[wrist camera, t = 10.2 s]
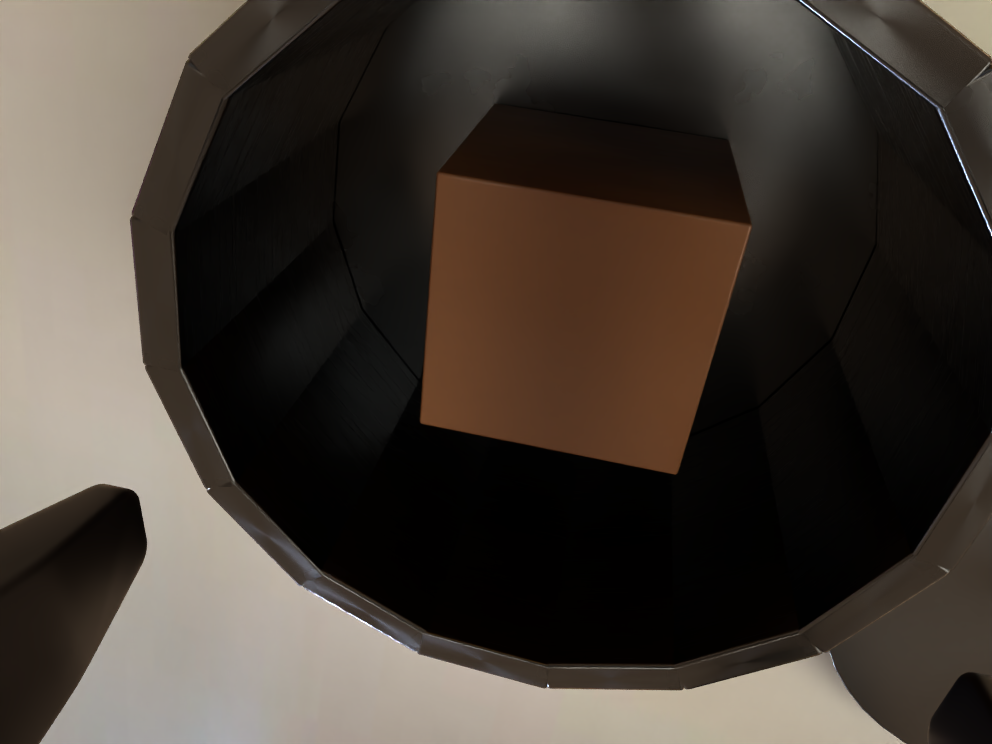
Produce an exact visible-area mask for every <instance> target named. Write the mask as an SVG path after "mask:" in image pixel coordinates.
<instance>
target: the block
mask: <svg viewBox="0 0 992 744" xmlns="http://www.w3.org/2000/svg"><path fill="white" fill-rule="evenodd" d="M751 230H752V223H751V219H750V216H749V212H748V208H747V205H746V201H745V197H744V193H743V190H742V186H741V182H740V179H739V175H738V171H737V167H736V164H735V160H734V156H733V152H732V149H731V145H730V141H728V140H723V139H717V138H711V137H704V136H698V135H692V134H685V133H679V132H673V131H666V130H660V129H654V128H647V127H641V126H635V125H628V124H622V123H616V122H609V121H603V120H596V119H590V118H584V117H577V116H571V115H565V114H558V113H552V112H546V111H539V110H533V109H527V108H520V107H514V106H508V105H501V104H494V105H493V106H492V107H491V109H490V110H489V111H488V112H487V113H486V114H485V116H484V117H483V118H482V119H481V120H480V122H479V123H478V124H477V125H476V126H475V128H474V129H473V130H472V131H471V132H470V134H469V135H468V136H467V137H466V138H465V140H464V141H463V142H462V143H461V144H460V146H459V147H458V148H457V149H456V150H455V152H454V153H453V154H452V155H451V156H450V158H449V159H448V160H447V161H446V162H445V164H444V165H443V166H442V167H441V168H440V170H439V171H438V172H437V174H436V188H435V202H434V217H433V231H432V246H431V261H430V275H429V290H428V304H427V319H426V333H425V348H424V362H423V377H422V392H421V406H420V423H421V424H425V425H430V426H435V427H440V428H445V429H450V430H455V431H460V432H465V433H470V434H475V435H480V436H485V437H490V438H495V439H500V440H505V441H510V442H515V443H520V444H525V445H530V446H535V447H539V448H544V449H549V450H554V451H559V452H564V453H569V454H574V455H579V456H584V457H589V458H594V459H599V460H604V461H609V462H614V463H619V464H624V465H629V466H634V467H639V468H644V469H649V470H654V471H659V472H664V473H669V474H674V475H676V474H677V473H678V471H679V468H680V464H681V461H682V458H683V454H684V451H685V448H686V445H687V441H688V438H689V435H690V431H691V428H692V425H693V421H694V418H695V415H696V411H697V408H698V405H699V402H700V398H701V395H702V392H703V388H704V385H705V382H706V378H707V375H708V372H709V369H710V365H711V362H712V359H713V355H714V352H715V349H716V345H717V342H718V339H719V335H720V332H721V329H722V326H723V322H724V319H725V316H726V312H727V309H728V306H729V302H730V299H731V296H732V292H733V289H734V286H735V283H736V279H737V276H738V273H739V269H740V266H741V263H742V259H743V256H744V253H745V250H746V246H747V243H748V240H749V236H750V233H751Z"/></svg>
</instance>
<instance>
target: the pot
mask: <svg viewBox="0 0 992 744" xmlns="http://www.w3.org/2000/svg"><path fill="white" fill-rule="evenodd" d="M188 58H189V60H187V61H186V63H185V66H184V69H183V72H182V75H181V77H180V80H179V83H178V86H177V88H176V91H175V94H174V97H173V100H172V102H171V105H170V108H169V111H168V113H167V116H166V119H165V122H164V124H163V127H162V130H161V133H160V136H159V138H158V141H157V144H156V147H155V149H154V152H153V155H152V158H151V161H150V163H149V166H148V169H147V172H146V174H145V177H144V180H143V183H142V185H141V188H140V191H139V194H138V197H137V199H136V202H135V205H134V208H133V210H132V217H131V219H130V225H131V236H132V247H133V258H134V268H135V279H136V290H137V301H138V312H139V323H140V334H141V344H142V355H143V363H144V364H145V365H146V366H145V369H146V371H147V373H148V375H149V377H150V379H151V381H152V383H153V385H154V387H155V389H156V391H157V393H158V395H159V397H160V399H161V401H162V403H163V405H164V407H165V409H166V411H167V413H168V415H169V417H170V419H171V421H172V423H173V425H174V427H175V429H176V431H177V433H178V435H179V437H180V439H181V441H182V443H183V445H184V447H185V449H186V451H187V453H188V455H189V457H190V459H191V461H192V463H193V465H194V467H195V469H196V471H197V473H198V475H199V477H200V479H201V481H202V483H203V485H204V487H205V488H206V489H208V490H207V492H208V494H209V495H210V496H211V497H212V498H213V499H214V500H215V501H216V502H217V503H218V504H219V505H220V506H221V507H222V508H223V509H224V510H225V511H226V512H227V513H228V514H229V515H230V516H231V517H232V518H233V519H234V520H235V521H236V522H237V523H238V524H239V525H240V526H241V527H242V528H243V529H244V530H245V531H246V532H247V533H248V534H249V535H250V536H251V537H252V538H253V539H254V540H255V541H256V542H257V543H258V544H259V545H260V546H261V547H262V548H263V549H264V550H265V551H266V552H267V554H268V555H269V556H270V557H271V558H272V559H273V560H274V561H275V562H276V563H277V564H278V565H279V566H280V567H281V568H282V569H283V570H284V571H285V572H286V573H287V574H288V575H289V576H290V577H291V578H292V579H293V580H294V581H295V582H296V583H297V584H298V585H299V586H303V587H304V588H305V589H306V590H308V591H310V592H311V593H313V594H315V595H317V596H318V597H320V598H322V599H324V600H325V601H327V602H329V603H331V604H332V605H334V606H336V607H338V608H339V609H341V610H343V611H345V612H346V613H348V614H350V615H352V616H353V617H355V618H357V619H359V620H360V621H362V622H364V623H366V624H367V625H369V626H371V627H372V628H374V629H376V630H378V631H379V632H381V633H383V634H385V635H386V636H388V637H390V638H392V639H393V640H395V641H397V642H399V643H400V644H402V645H404V646H406V647H407V648H409V649H411V650H413V651H417V653H418V654H420V655H424V656H427V657H431V658H435V659H438V660H442V661H446V662H449V663H453V664H457V665H460V666H464V667H468V668H471V669H475V670H479V671H482V672H486V673H490V674H493V675H497V676H501V677H504V678H508V679H511V680H515V681H519V682H522V683H526V684H530V685H533V686H537V687H541V688H546V687H548V688H552V689H622V690H683V688H685V689H692V688H696V687H700V686H703V685H707V684H711V683H715V682H719V681H722V680H726V679H730V678H734V677H737V676H741V675H745V674H749V673H753V672H756V671H760V670H764V669H768V668H772V667H775V666H779V665H783V664H787V663H791V662H794V661H798V660H802V659H806V658H809V657H813V656H817V655H820V654H821V653H822V652H824V653H826V652H828V651H830V650H831V649H833V648H834V647H836V646H838V645H839V644H841V643H842V642H844V641H845V640H847V639H848V638H850V637H852V636H853V635H855V634H856V633H858V632H859V631H861V630H862V629H864V628H865V627H867V626H869V625H870V624H872V623H873V622H875V621H876V620H878V619H879V618H881V617H882V616H884V615H886V614H887V613H889V612H890V611H892V610H893V609H895V608H896V607H898V606H900V605H901V604H903V603H904V602H906V601H907V600H909V599H910V598H912V597H913V596H915V595H917V594H918V593H920V592H921V591H923V590H924V589H926V588H927V587H929V586H931V585H932V584H934V583H935V582H937V581H938V580H940V579H941V578H943V577H944V576H946V575H948V574H949V573H950V570H953V569H954V568H955V567H956V565H957V564H958V563H959V561H960V560H961V558H962V557H963V555H964V554H965V553H966V551H967V550H968V548H969V547H970V546H971V544H972V543H973V541H974V540H975V538H976V537H977V536H978V534H979V533H980V531H981V530H982V528H983V527H984V526H985V524H986V523H987V521H988V520H989V519H990V517H991V516H992V58H991V57H990V56H989V55H988V54H987V53H985V52H984V51H983V50H982V49H980V48H979V47H978V46H977V45H975V44H974V43H973V42H972V41H971V40H969V39H968V38H967V37H966V36H964V35H963V34H962V33H961V32H959V31H958V30H957V29H956V28H954V27H953V26H952V25H951V24H949V23H948V22H947V21H946V20H945V19H943V18H942V17H941V16H940V15H938V14H937V13H936V12H935V11H933V10H932V9H931V8H930V7H928V6H927V5H926V4H925V3H923V2H922V1H921V0H247V1H246V2H245V3H244V4H243V5H242V6H241V7H240V8H239V9H238V10H236V11H235V12H234V13H233V14H232V15H231V16H230V17H229V18H228V19H227V20H226V21H225V22H224V23H222V24H221V25H220V26H219V27H218V28H217V29H216V30H215V31H214V32H213V33H212V34H211V35H209V36H208V37H207V38H206V39H205V40H204V41H203V42H202V43H201V44H200V45H199V46H198V47H197V48H195V49H194V50H193V51H192V52H191V53H190V55H189V57H188ZM494 104H501V105H508V106H514V107H520V108H527V109H533V110H539V111H546V112H552V113H558V114H565V115H571V116H577V117H584V118H590V119H596V120H603V121H609V122H616V123H622V124H628V125H635V126H641V127H647V128H654V129H660V130H666V131H673V132H679V133H685V134H692V135H698V136H704V137H711V138H717V139H723V140H728V141H730V145H731V149H732V152H733V156H734V160H735V164H736V167H737V171H738V175H739V179H740V182H741V186H742V190H743V193H744V197H745V201H746V205H747V208H748V212H749V216H750V219H751V223H752V230H751V233H750V236H749V240H748V243H747V246H746V250H745V253H744V256H743V259H742V263H741V266H740V269H739V273H738V276H737V279H736V283H735V286H734V289H733V292H732V296H731V299H730V302H729V306H728V309H727V312H726V316H725V319H724V322H723V326H722V329H721V332H720V335H719V339H718V342H717V345H716V349H715V352H714V355H713V359H712V362H711V365H710V369H709V372H708V375H707V378H706V382H705V385H704V388H703V392H702V395H701V398H700V402H699V405H698V408H697V411H696V415H695V418H694V421H693V425H692V428H691V431H690V435H689V438H688V441H687V445H686V448H685V451H684V454H683V458H682V461H681V464H680V468H679V471H678V473H677V474H676V475H674V474H669V473H664V472H659V471H654V470H649V469H644V468H639V467H634V466H629V465H624V464H619V463H614V462H609V461H604V460H599V459H594V458H589V457H584V456H579V455H574V454H569V453H564V452H559V451H554V450H549V449H544V448H539V447H535V446H530V445H525V444H520V443H515V442H510V441H505V440H500V439H495V438H490V437H485V436H480V435H475V434H470V433H465V432H460V431H455V430H450V429H445V428H440V427H435V426H430V425H425V424H421V423H420V406H421V392H422V377H423V362H424V348H425V333H426V319H427V304H428V290H429V275H430V261H431V246H432V231H433V217H434V202H435V188H436V174H437V172H438V171H439V170H440V168H441V167H442V166H443V165H444V164H445V162H446V161H447V160H448V159H449V158H450V156H451V155H452V154H453V153H454V152H455V150H456V149H457V148H458V147H459V146H460V144H461V143H462V142H463V141H464V140H465V138H466V137H467V136H468V135H469V134H470V132H471V131H472V130H473V129H474V128H475V126H476V125H477V124H478V123H479V122H480V120H481V119H482V118H483V117H484V116H485V114H486V113H487V112H488V111H489V110H490V109H491V107H492V106H493V105H494Z"/></svg>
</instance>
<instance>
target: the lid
mask: <svg viewBox="0 0 992 744" xmlns="http://www.w3.org/2000/svg"><path fill="white" fill-rule="evenodd" d="M829 652H830V655H831V658H832V661H833V664H834V667H835V669H836V671H837V673H838V675H839V676H840V678H841V680H842V682H843V684H844V686H845V687H846V689H847V690H848V691H849V693H850V694H851V695H852V696H853V698H854V699H855V700H856V701H857V703H858V704H859V705H860V706H861V708H862V709H863V710H864V711H865V712H866V713H867V714H869V715H870V716H871V717H872V718H873V719H874V720H875V721H876V722H877V723H878V724H879V725H880V726H882V727H883V728H884V729H886V730H887V731H889V732H890V733H891V734H893V735H894V736H896V737H897V738H899V739H900V740H901V741H903V742H904V743H906V744H928V727H929V723H930V720H931V718H932V716H933V714H934V713H935V711H936V710H937V708H938V707H939V705H940V704H941V702H942V701H943V699H944V698H945V697H946V695H947V694H948V692H949V691H950V689H951V688H952V686H953V685H954V683H955V682H956V680H957V679H958V678H959V677H960V676H961V675H962V674H964V673H967V672H975V673H979V674H984V675H989V676H992V516H991V517H990V519H989V520H988V521H987V523H986V524H985V526H984V527H983V528H982V530H981V531H980V533H979V534H978V536H977V537H976V538H975V540H974V541H973V543H972V544H971V546H970V547H969V548H968V550H967V551H966V553H965V554H964V555H963V557H962V558H961V560H960V561H959V563H958V564H957V565H956V567H955V568H954V569H953V570H950V573H949V574H948V575H946V576H944V577H943V578H941V579H940V580H938V581H937V582H935V583H934V584H932V585H931V586H929V587H927V588H926V589H924V590H923V591H921V592H920V593H918V594H917V595H915V596H913V597H912V598H910V599H909V600H907V601H906V602H904V603H903V604H901V605H900V606H898V607H896V608H895V609H893V610H892V611H890V612H889V613H887V614H886V615H884V616H882V617H881V618H879V619H878V620H876V621H875V622H873V623H872V624H870V625H869V626H867V627H865V628H864V629H862V630H861V631H859V632H858V633H856V634H855V635H853V636H852V637H850V638H848V639H847V640H845V641H844V642H842V643H841V644H839V645H838V646H836V647H834V648H833V649H831V650H830V651H829Z"/></svg>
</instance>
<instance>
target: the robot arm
mask: <svg viewBox="0 0 992 744" xmlns="http://www.w3.org/2000/svg"><path fill="white" fill-rule="evenodd" d="M146 550H147V538H146V533H145V528H144V522H143V517H142V511H141V506H140V501H139V497H138V496H137V494H136V493H135V492H134V491H132V490H130V489H126V488H121V487H117V486H112V485H107V484H98V485H95V486H92V487H90V488H87V489H85V490H83V491H81V492H79V493H77V494H75V495H73V496H70V497H68V498H66V499H64V500H62V501H60V502H58V503H56V504H53V505H51V506H49V507H47V508H45V509H43V510H41V511H39V512H36V513H34V514H32V515H30V516H28V517H26V518H24V519H22V520H19V521H17V522H15V523H13V524H11V525H9V526H7V527H5V528H3V529H0V744H39V743H40V742H41V740H42V739H43V737H44V736H45V734H46V733H47V731H48V730H49V728H50V727H51V725H52V724H53V722H54V720H55V719H56V717H57V716H58V714H59V713H60V711H61V710H62V708H63V707H64V705H65V704H66V702H67V701H68V699H69V698H70V696H71V694H72V693H73V691H74V690H75V688H76V687H77V685H78V683H79V682H80V680H81V678H82V676H83V674H84V673H85V671H86V669H87V667H88V666H89V664H90V662H91V660H92V658H93V656H94V654H95V652H96V651H97V649H98V647H99V645H100V643H101V641H102V639H103V637H104V635H105V633H106V632H107V630H108V628H109V626H110V624H111V622H112V620H113V618H114V616H115V614H116V613H117V611H118V609H119V607H120V605H121V603H122V601H123V599H124V597H125V596H126V594H127V592H128V590H129V588H130V586H131V584H132V582H133V580H134V578H135V577H136V575H137V573H138V571H139V569H140V567H141V565H142V563H143V561H144V558H145V555H146ZM928 744H992V676H989V675H984V674H979V673H975V672H967V673H964V674H962V675H961V676H960V677H959V678H958V679H957V680H956V682H955V683H954V685H953V686H952V688H951V689H950V691H949V692H948V694H947V695H946V697H945V698H944V699H943V701H942V702H941V704H940V705H939V707H938V708H937V710H936V711H935V713H934V714H933V716H932V718H931V720H930V723H929V727H928Z"/></svg>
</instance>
